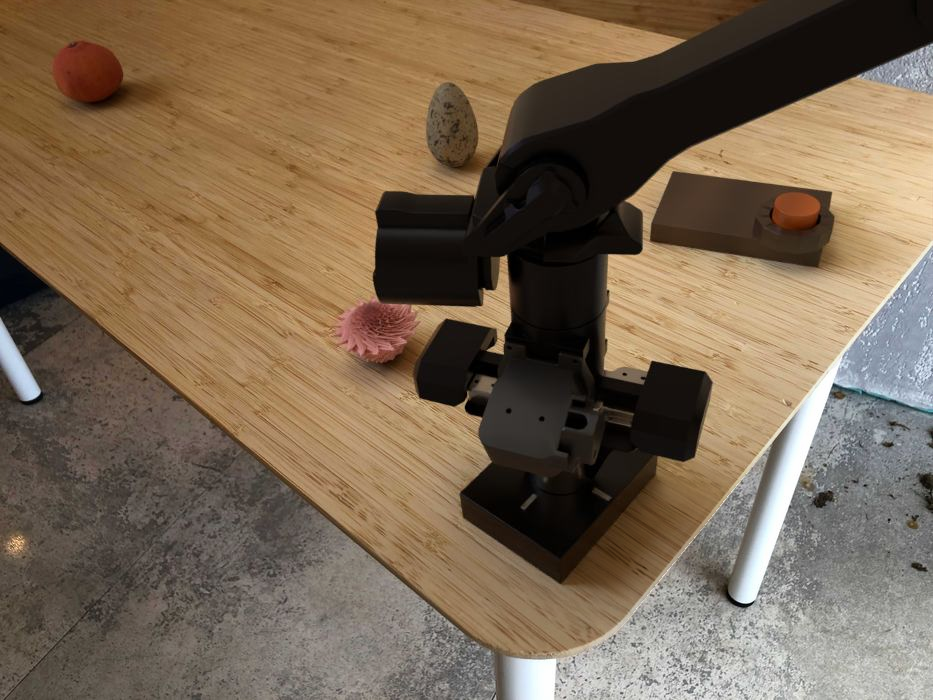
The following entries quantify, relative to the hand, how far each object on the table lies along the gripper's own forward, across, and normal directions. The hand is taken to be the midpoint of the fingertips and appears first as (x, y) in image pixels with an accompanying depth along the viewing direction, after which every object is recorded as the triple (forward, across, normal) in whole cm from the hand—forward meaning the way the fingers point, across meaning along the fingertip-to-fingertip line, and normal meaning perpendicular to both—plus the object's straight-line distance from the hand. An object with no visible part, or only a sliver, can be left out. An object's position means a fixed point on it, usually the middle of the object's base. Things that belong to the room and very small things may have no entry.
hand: (560, 465), depth 61 cm
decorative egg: (+4, -26, +42) cm, 50 cm away
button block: (+4, +7, +38) cm, 39 cm away
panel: (+4, 0, 0) cm, 4 cm away
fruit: (+4, -83, +46) cm, 95 cm away
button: (0, +12, +35) cm, 37 cm away
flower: (+4, -20, +10) cm, 23 cm away
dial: (0, 0, 0) cm, 0 cm away
